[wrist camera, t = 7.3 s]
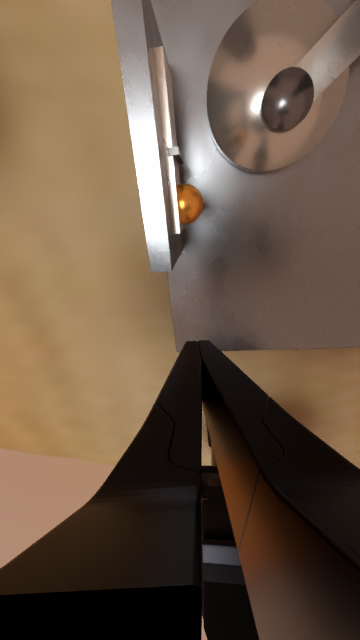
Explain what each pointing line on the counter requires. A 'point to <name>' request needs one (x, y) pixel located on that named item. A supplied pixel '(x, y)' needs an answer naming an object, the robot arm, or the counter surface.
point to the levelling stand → (237, 195)
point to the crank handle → (280, 81)
